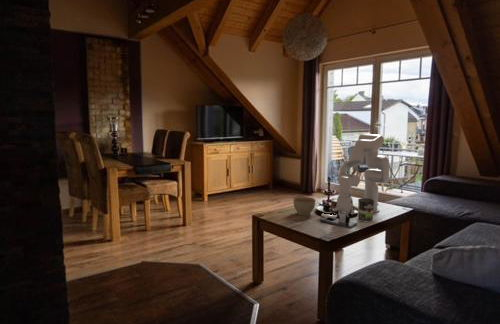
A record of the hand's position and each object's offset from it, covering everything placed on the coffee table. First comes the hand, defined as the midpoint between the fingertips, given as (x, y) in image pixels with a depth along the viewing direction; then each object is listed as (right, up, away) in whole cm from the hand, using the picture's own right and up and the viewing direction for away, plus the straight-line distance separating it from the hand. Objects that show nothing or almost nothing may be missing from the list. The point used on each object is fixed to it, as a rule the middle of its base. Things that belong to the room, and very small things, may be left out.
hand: (343, 221), depth 241 cm
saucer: (-6, +1, +19) cm, 20 cm away
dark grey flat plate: (-3, -2, +3) cm, 5 cm away
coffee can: (+17, -1, +10) cm, 20 cm away
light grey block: (0, -2, 0) cm, 2 cm away
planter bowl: (-23, +1, +24) cm, 33 cm away
